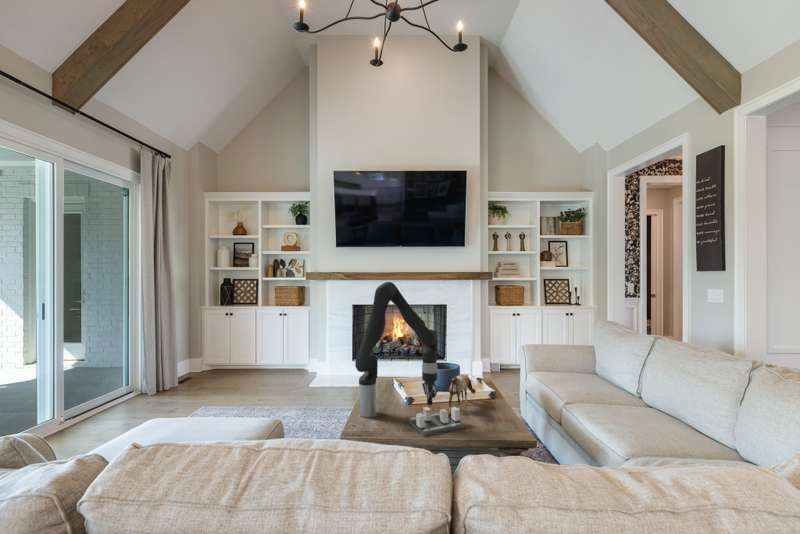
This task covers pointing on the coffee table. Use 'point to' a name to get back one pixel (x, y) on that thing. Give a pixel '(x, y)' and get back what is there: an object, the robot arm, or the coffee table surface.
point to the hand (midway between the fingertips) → (429, 404)
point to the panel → (436, 425)
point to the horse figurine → (460, 389)
